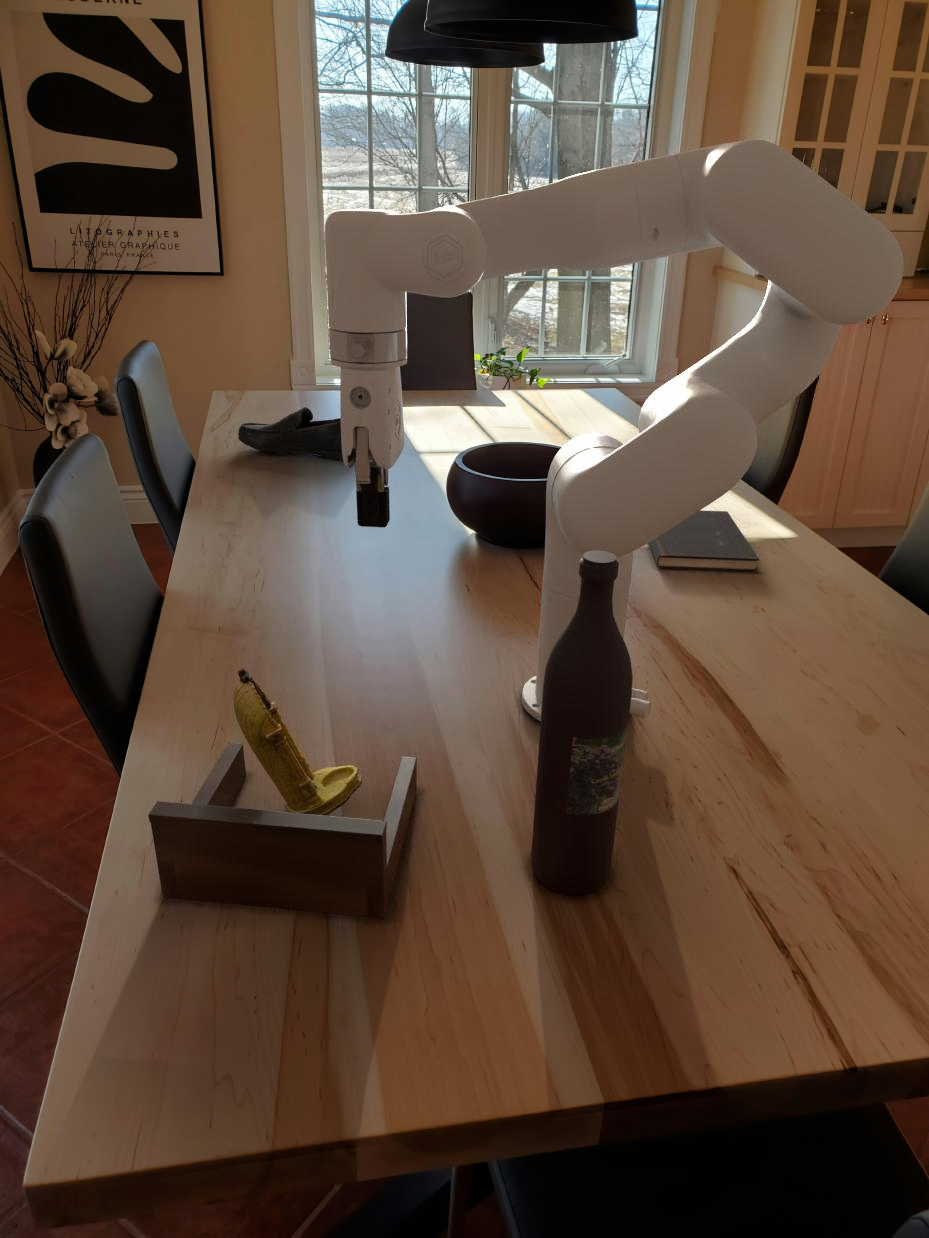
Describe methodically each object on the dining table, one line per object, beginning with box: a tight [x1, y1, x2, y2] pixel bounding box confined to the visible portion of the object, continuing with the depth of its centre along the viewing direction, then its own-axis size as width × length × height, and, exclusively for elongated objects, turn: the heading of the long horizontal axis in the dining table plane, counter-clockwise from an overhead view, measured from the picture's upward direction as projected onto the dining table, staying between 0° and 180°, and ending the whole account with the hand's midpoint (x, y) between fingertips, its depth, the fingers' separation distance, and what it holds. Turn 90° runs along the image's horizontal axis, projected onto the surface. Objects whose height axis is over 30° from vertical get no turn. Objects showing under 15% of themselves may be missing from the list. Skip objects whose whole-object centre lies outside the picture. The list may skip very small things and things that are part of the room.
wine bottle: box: [530, 550, 634, 896], centre depth 73 cm, size 7×7×30 cm
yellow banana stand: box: [233, 668, 363, 816], centre depth 84 cm, size 12×8×15 cm
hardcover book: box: [648, 509, 761, 573], centre depth 153 cm, size 16×23×2 cm
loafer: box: [237, 406, 343, 461], centre depth 197 cm, size 10×29×10 cm, turn 82°
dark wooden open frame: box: [147, 742, 418, 919], centre depth 81 cm, size 18×19×9 cm
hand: (373, 524), depth 96 cm, fingers closed
